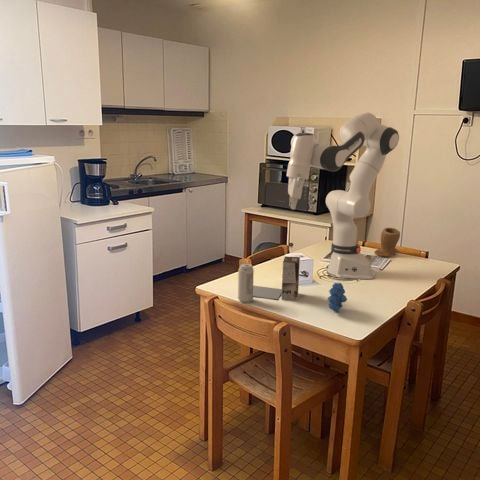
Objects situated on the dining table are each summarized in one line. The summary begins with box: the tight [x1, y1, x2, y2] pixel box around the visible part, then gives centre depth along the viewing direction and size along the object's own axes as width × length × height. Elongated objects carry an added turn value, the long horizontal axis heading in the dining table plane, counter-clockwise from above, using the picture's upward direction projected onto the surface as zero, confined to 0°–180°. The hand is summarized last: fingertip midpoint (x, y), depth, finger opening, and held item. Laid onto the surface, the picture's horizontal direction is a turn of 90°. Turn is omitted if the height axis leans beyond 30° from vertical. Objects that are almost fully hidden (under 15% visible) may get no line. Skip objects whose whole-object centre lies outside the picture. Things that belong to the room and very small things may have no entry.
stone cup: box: [374, 227, 401, 258], centre depth 261 cm, size 15×12×15 cm
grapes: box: [327, 282, 348, 313], centre depth 184 cm, size 12×7×12 cm, turn 144°
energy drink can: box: [237, 263, 255, 304], centre depth 194 cm, size 6×6×15 cm
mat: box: [253, 285, 282, 301], centre depth 204 cm, size 16×12×1 cm
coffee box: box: [280, 256, 301, 302], centre depth 199 cm, size 9×6×16 cm
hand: (291, 207), depth 194 cm, fingers open, 8 cm apart
